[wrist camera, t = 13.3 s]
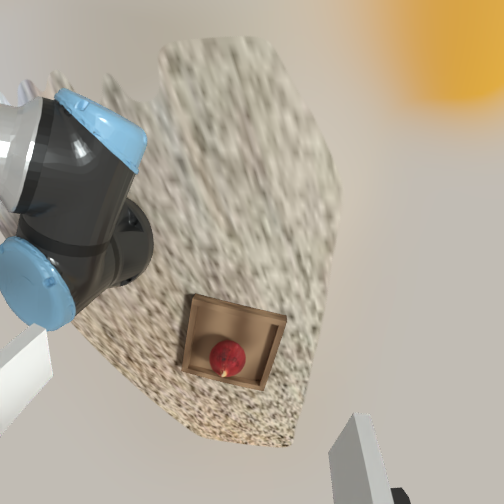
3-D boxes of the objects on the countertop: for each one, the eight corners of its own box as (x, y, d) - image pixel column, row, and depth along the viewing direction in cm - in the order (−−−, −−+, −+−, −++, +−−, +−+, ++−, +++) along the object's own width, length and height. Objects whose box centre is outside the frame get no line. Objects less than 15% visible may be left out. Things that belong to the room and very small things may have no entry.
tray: (184, 364, 55) (181, 371, 53) (195, 293, 50) (192, 298, 48) (263, 384, 55) (263, 391, 53) (286, 315, 50) (286, 321, 48)
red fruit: (213, 329, 51) (203, 357, 44) (248, 333, 51) (243, 361, 43) (213, 357, 53) (204, 386, 45) (246, 361, 53) (242, 391, 45)
